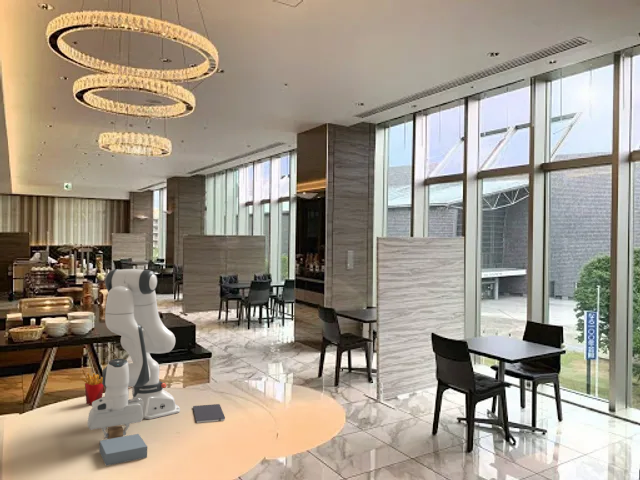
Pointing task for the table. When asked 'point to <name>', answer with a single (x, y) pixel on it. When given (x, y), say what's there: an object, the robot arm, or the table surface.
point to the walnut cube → (115, 431)
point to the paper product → (208, 413)
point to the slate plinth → (122, 449)
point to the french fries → (93, 388)
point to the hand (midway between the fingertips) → (115, 436)
